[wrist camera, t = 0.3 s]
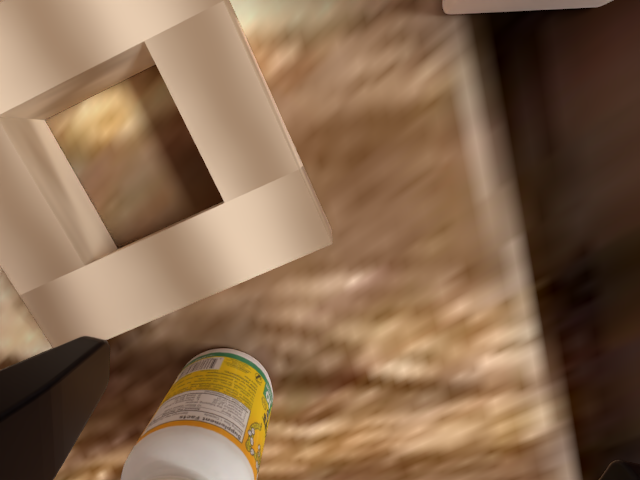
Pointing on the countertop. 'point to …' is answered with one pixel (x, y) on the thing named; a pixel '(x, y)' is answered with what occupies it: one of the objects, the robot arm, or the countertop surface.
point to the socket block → (206, 130)
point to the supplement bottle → (207, 422)
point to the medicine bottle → (514, 5)
